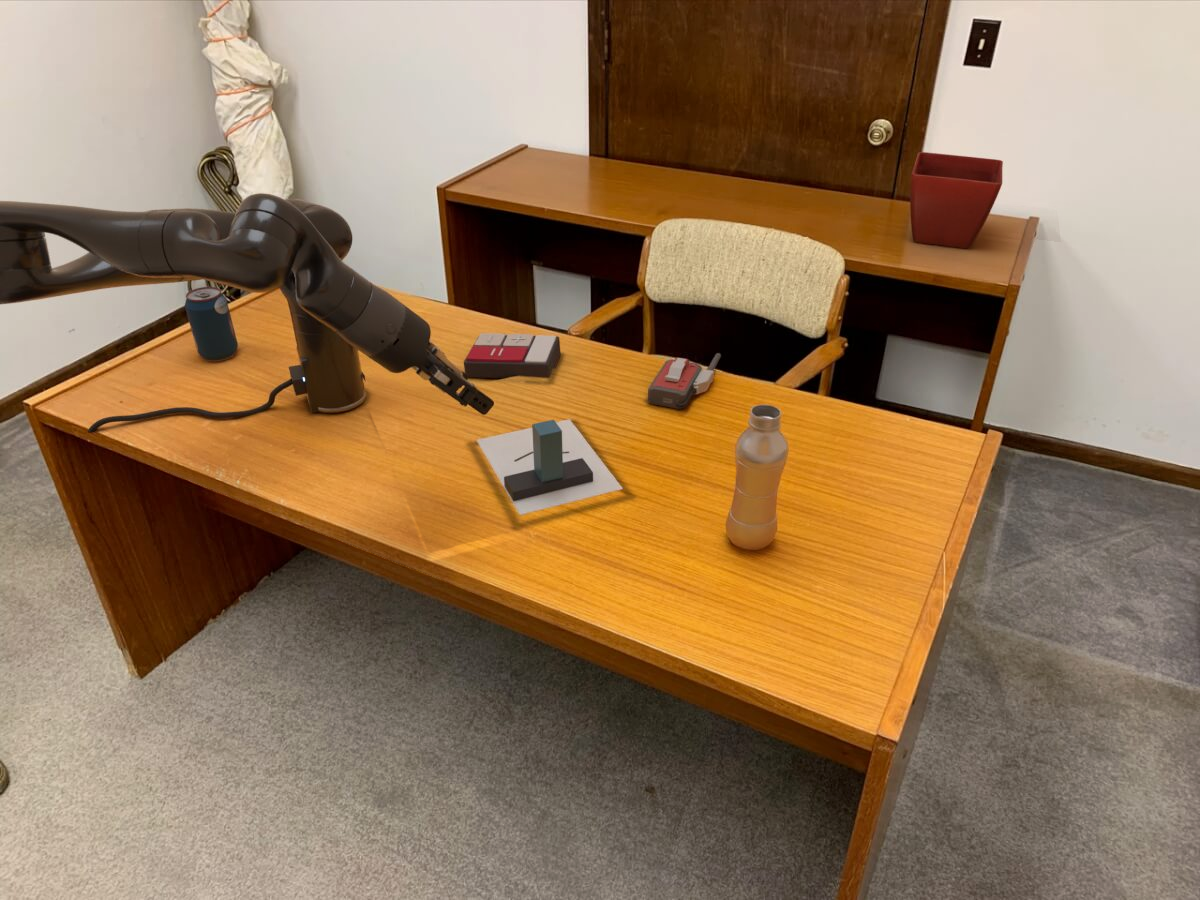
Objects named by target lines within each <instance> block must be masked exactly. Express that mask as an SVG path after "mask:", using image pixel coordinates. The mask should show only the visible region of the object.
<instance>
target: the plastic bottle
mask: <svg viewBox="0 0 1200 900" xmlns="http://www.w3.org/2000/svg"><path fill="white" fill-rule="evenodd" d="M747 422H748V424H747V425H748V427H747V428H746V429H745V430H744V431H743V432H742V433H741V434H740V435H739V436H738V438H737V440H736V442H735V444H734V445H735V446H734V459H735V461H734V462H735V481H734V482H735V483H734V492H733V496H732V502H731V505H730V508H729V511H728V513H727V516H726V520H725V529H726V530H725V532H726V536H727V537H728V539H729V540H730V542H731V543H732V544H733V545H734V546H736V547H738V548H740V549H743V550H747V551H757V550H761V549H765V548H766V547H767V546H769V545H771V543H772V542H773V541H774V539H775V537H776V534H777V531H778V513H777V508H778V507H777V506H778V493H779V487H780V484H781V478H782V475H783V472H784V469H785V466H786V463H787V460H788V457H789V452H790V448H789V444H788V440H787V439H786V438H785V435H784V434H783V432H782V431H781V430H780V429H781V426H782V410H781V409H780V408H779V407H777V406H775V405H772V404H765V403H763V404H757V405H754V406H752V407H751V408H750V411H749V418H748V421H747Z"/></svg>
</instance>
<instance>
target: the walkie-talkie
mask: <svg viewBox="0 0 1200 900" xmlns="http://www.w3.org/2000/svg"><path fill="white" fill-rule="evenodd" d="M721 358H722V355H721V353H720V352H717V353H715V355H714V357H713V358H712V360H711V361H710V363H709V365H708V367H707V368H706V369H705V368H703V367H702V365H700V364H699V363H697V362H696V363H695V362H691V361H690V359H689V358H683V357H675V359H668V360H665V362H664V364H663V365H662V366H661V368H660V369H659V371H658V373H657V374H656V375H655V377H654V379H653V380H652V382H651V383H650V385H649V386H648V388H647V401H648V403H649V404H651V405H654V406H661V407H665V408H669V409H675V410H676V409H677V410H682V409H684V408H686V407H687V405H688V403H689V402H690V400H691V398H692V396H693V395H695V396H696V395H699V394H702V393H706V392H707V391H708V389H709V387H710V385H711V383H714V376H715V371H714V370H715V369H716V367H717V365H718V363H719V361H720V359H721Z"/></svg>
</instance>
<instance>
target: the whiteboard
mask: <svg viewBox="0 0 1200 900" xmlns="http://www.w3.org/2000/svg"><path fill="white" fill-rule="evenodd" d="M555 422H556V423H557V425H558V426H559V427H560V429H561V430H562V453H563V462H568V461H572V460H576V459H580V458H583V459H584V461H585V462H586V464H587V465H588V466H589V468H590V469H591V470H592V472H593V482H589V483H585V484H581V485H577V486H573V487H569V488H565V489H561V490H557V491H553V492H549V493H545V494H541V495H537V496H533V497H529V498H525V499H521V500H517V501H513V499H512V498H511V496H510V494H509V493H508V491H507V489H506V487H505V485H504V477H505V476H509V475H513V474H517V473H522V472H526V471H530V470H534V453H533V431H532V427H528V428H524V429H519V430H514V431H510V432H506V433H505V432H504V433H501V434H497V435H492V436H487V437H483V438H478V439H476V443H477V444H478V446H479V447H480V449H481V451H482V453H483V454H484V456H485V458H486V460H487V462H488V463H489V465H490V466H491V468H492V470H493V472H494V474H495V475H496V477H497V479H498V481H499V482H500V484H501V486H502V487H503V489H504V491H505V492H506V494H507V496H508V498H509V500H510V501H511V503H512V504H513V507H514V508H515V510H516V512H517V513H518V516H523V515H528V514H531V513H534V512H538V511H543V510H546V509H551V508H555V507H558V506H562V505H565V504H566V505H567V504H570V503H574V502H578V501H581V500H586V499H590V498H594V497H597V496H600V495H605V494H610V493H613V492H618V491H621V490H623V489H624V487H622V485H621V484H620V482H618V480H617V479H616V478H615V476H614V475H613V474H612V472H611V471H610V469H609V468H608V467H607V466H606V464H605V463H604V462H603V461H602V459H601V458H600V457H599V455H598V454H597V453H596V451H595V450H594V448H593V447H592V446H591V445H590V444H589V442H588V441H587V440H586V438H585V437H584V436H583V435H582V433H581V431H579V429H578V428H577V427H576V425H575V424H574V423H573V421H572V420H571V419H569V418H568V419H565V420H560V421H555Z"/></svg>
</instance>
